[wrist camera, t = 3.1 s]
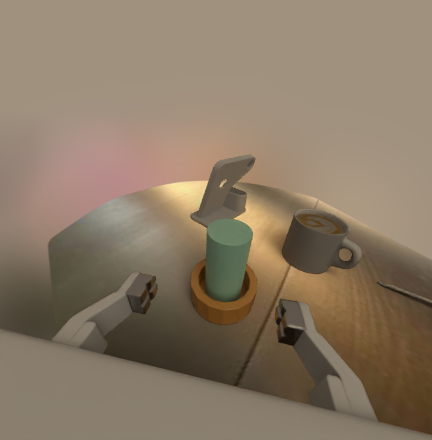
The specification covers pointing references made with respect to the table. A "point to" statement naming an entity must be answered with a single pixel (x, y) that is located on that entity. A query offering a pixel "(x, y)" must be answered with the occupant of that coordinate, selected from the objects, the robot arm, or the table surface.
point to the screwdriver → (406, 292)
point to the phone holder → (224, 191)
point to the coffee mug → (318, 242)
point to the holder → (216, 309)
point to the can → (226, 258)
